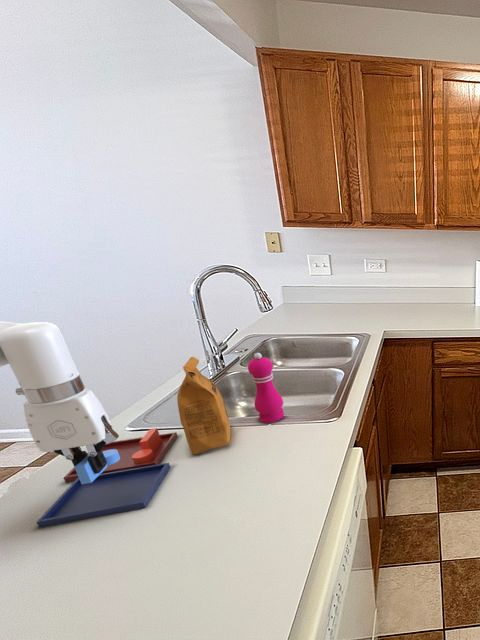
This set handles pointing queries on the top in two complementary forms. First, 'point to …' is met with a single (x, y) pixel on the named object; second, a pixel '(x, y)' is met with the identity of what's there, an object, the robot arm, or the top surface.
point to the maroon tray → (127, 450)
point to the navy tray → (106, 495)
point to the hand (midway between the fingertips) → (93, 470)
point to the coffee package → (202, 411)
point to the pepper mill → (265, 390)
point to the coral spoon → (147, 447)
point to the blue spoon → (86, 470)
